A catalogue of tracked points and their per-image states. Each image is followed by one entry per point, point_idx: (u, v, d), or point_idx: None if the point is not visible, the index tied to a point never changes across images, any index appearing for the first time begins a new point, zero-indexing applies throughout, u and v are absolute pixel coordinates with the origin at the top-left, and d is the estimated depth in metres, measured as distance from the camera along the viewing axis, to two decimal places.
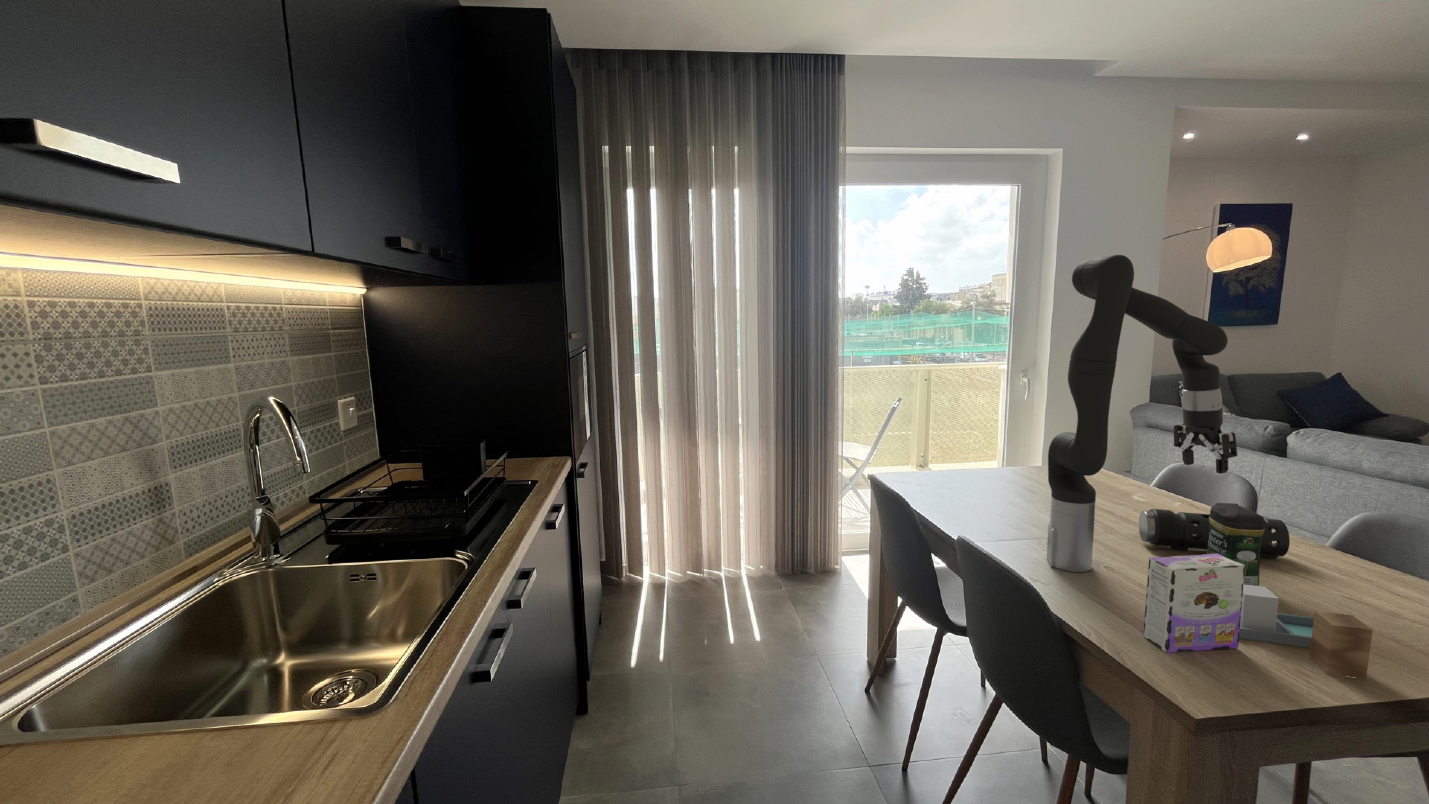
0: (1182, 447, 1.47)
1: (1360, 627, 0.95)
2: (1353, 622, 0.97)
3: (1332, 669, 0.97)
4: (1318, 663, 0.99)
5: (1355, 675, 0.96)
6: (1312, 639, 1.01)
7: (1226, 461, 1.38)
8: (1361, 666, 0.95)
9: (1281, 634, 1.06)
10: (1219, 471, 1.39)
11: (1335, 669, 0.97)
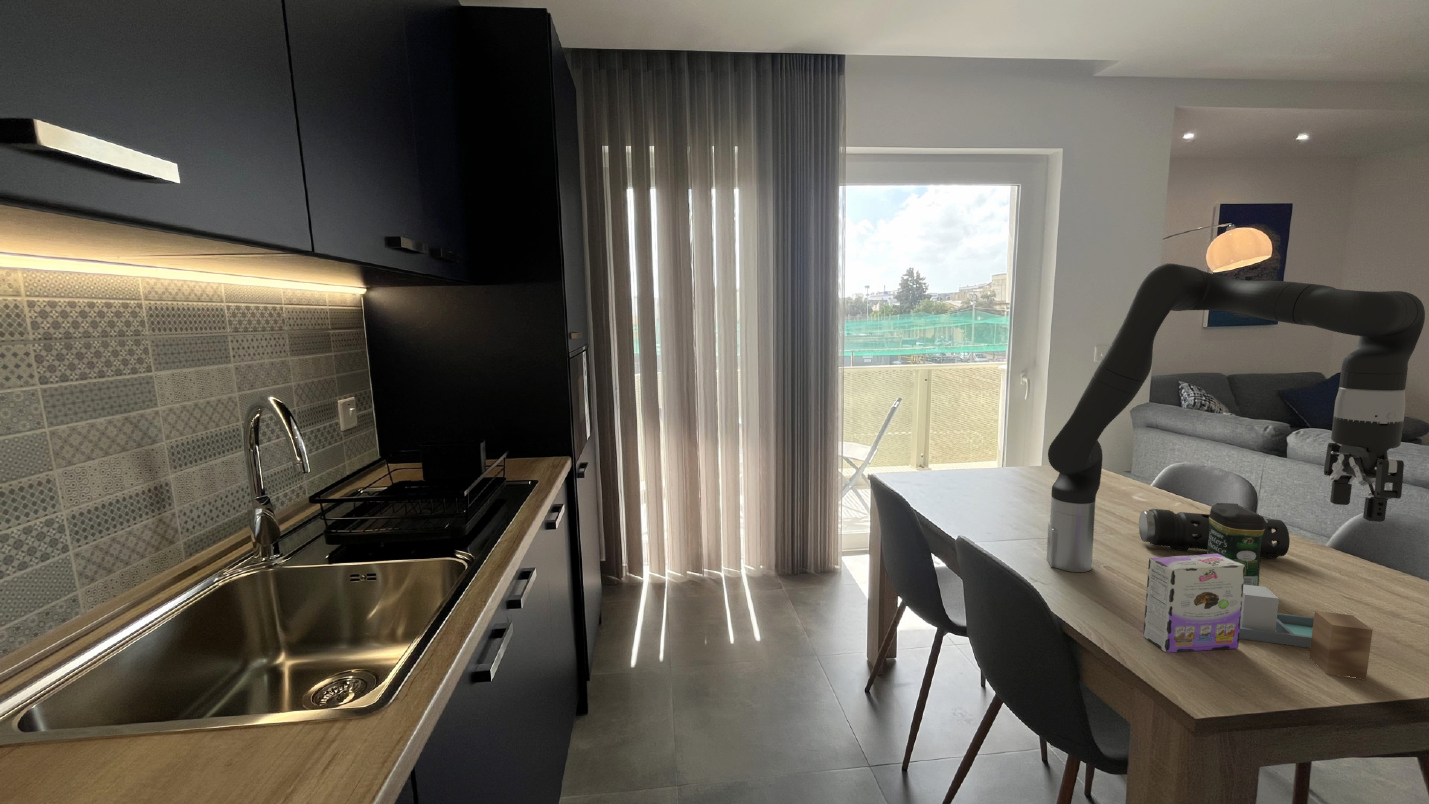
0: (1331, 476, 0.99)
1: (1360, 627, 0.95)
2: (1353, 622, 0.97)
3: (1332, 669, 0.97)
4: (1318, 663, 0.99)
5: (1355, 675, 0.96)
6: (1312, 639, 1.01)
7: (1383, 503, 0.89)
8: (1361, 666, 0.95)
9: (1281, 634, 1.06)
10: (1367, 516, 0.91)
11: (1335, 669, 0.97)
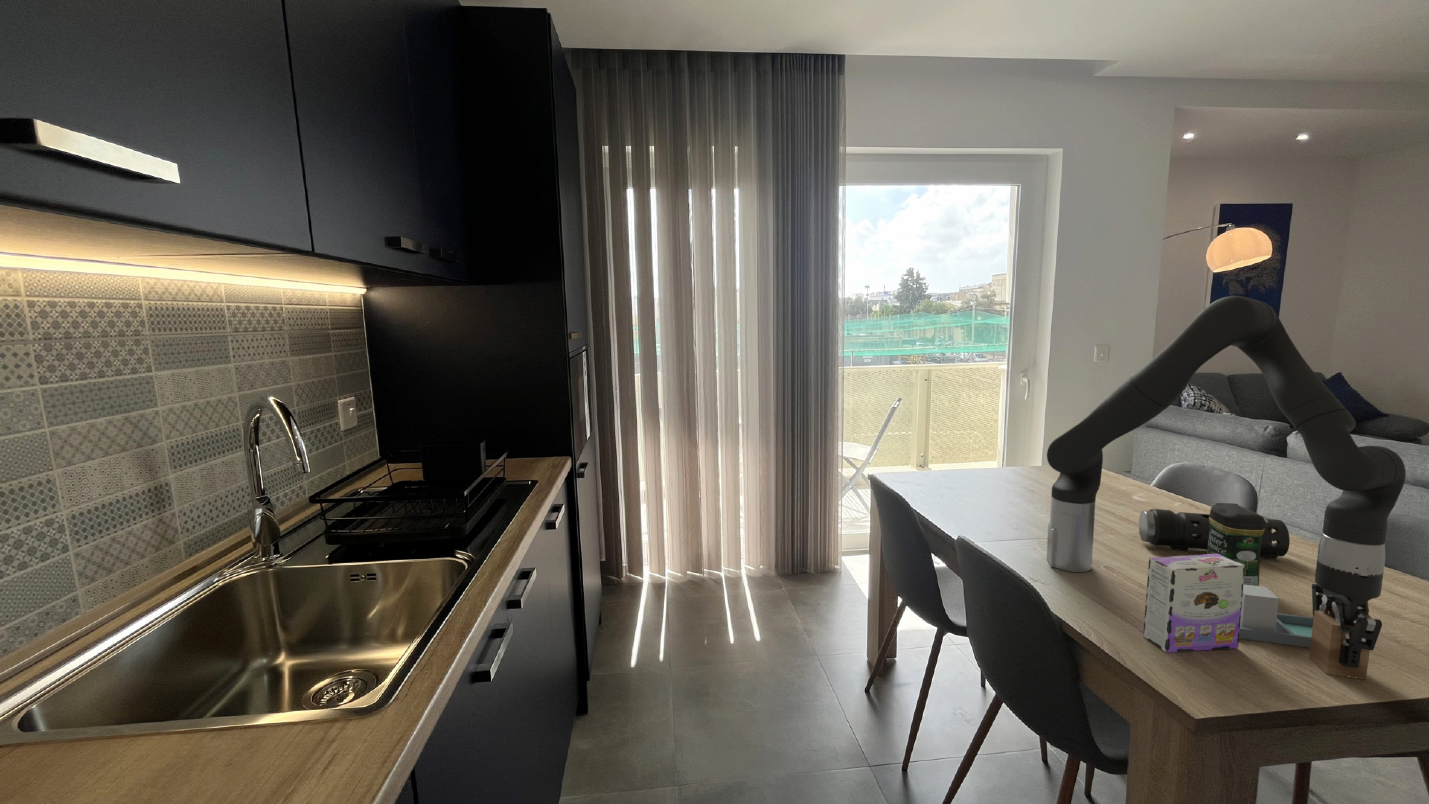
0: None
1: None
2: None
3: (1332, 669, 0.97)
4: (1318, 663, 0.99)
5: (1355, 675, 0.96)
6: (1312, 639, 1.01)
7: (1357, 652, 0.94)
8: (1361, 666, 0.95)
9: (1281, 634, 1.06)
10: (1342, 662, 0.96)
11: (1335, 669, 0.97)
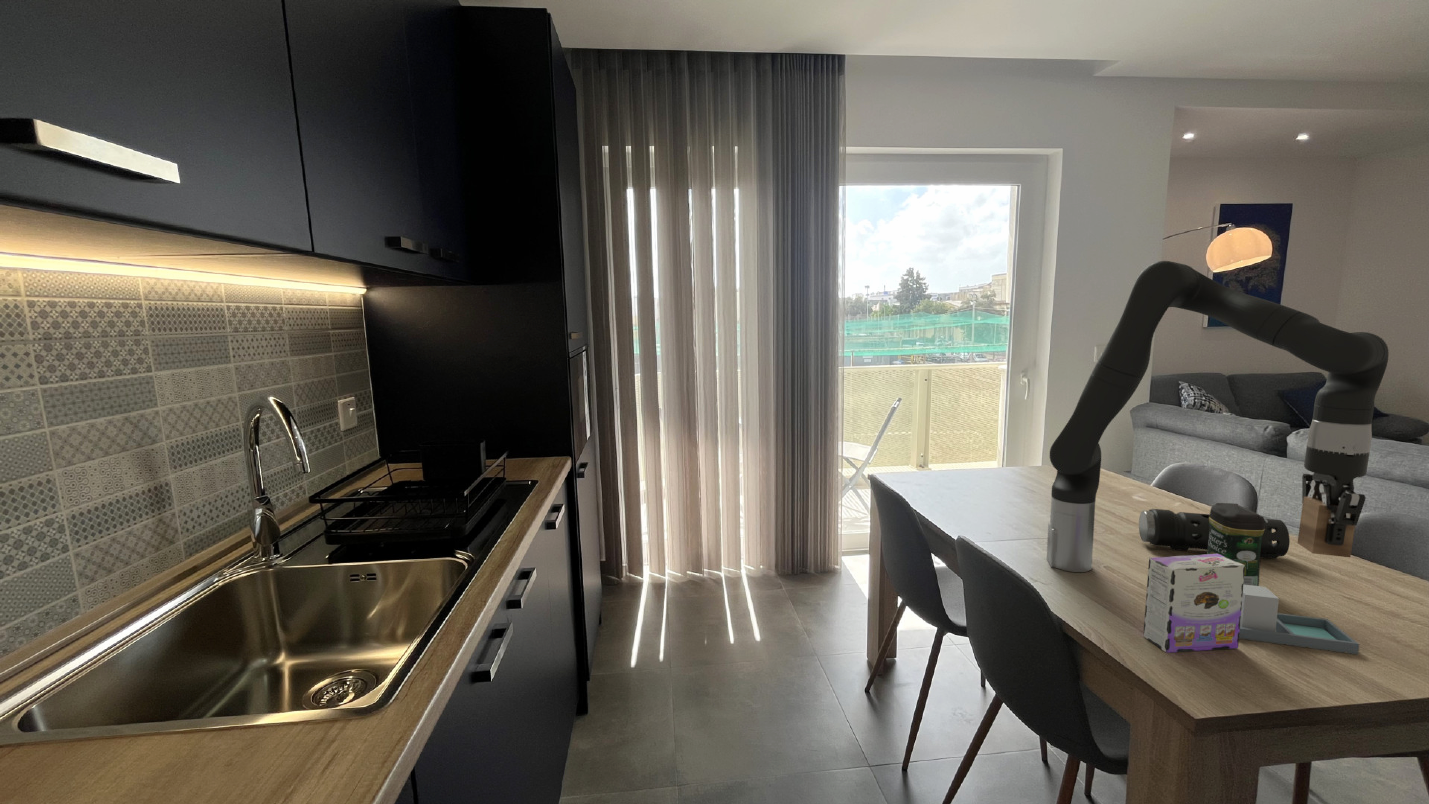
0: None
1: None
2: None
3: (1318, 548, 1.01)
4: (1305, 545, 1.04)
5: (1340, 553, 1.00)
6: (1300, 524, 1.06)
7: (1341, 529, 0.99)
8: (1346, 544, 1.00)
9: (1281, 634, 1.06)
10: (1328, 540, 1.00)
11: (1321, 548, 1.01)
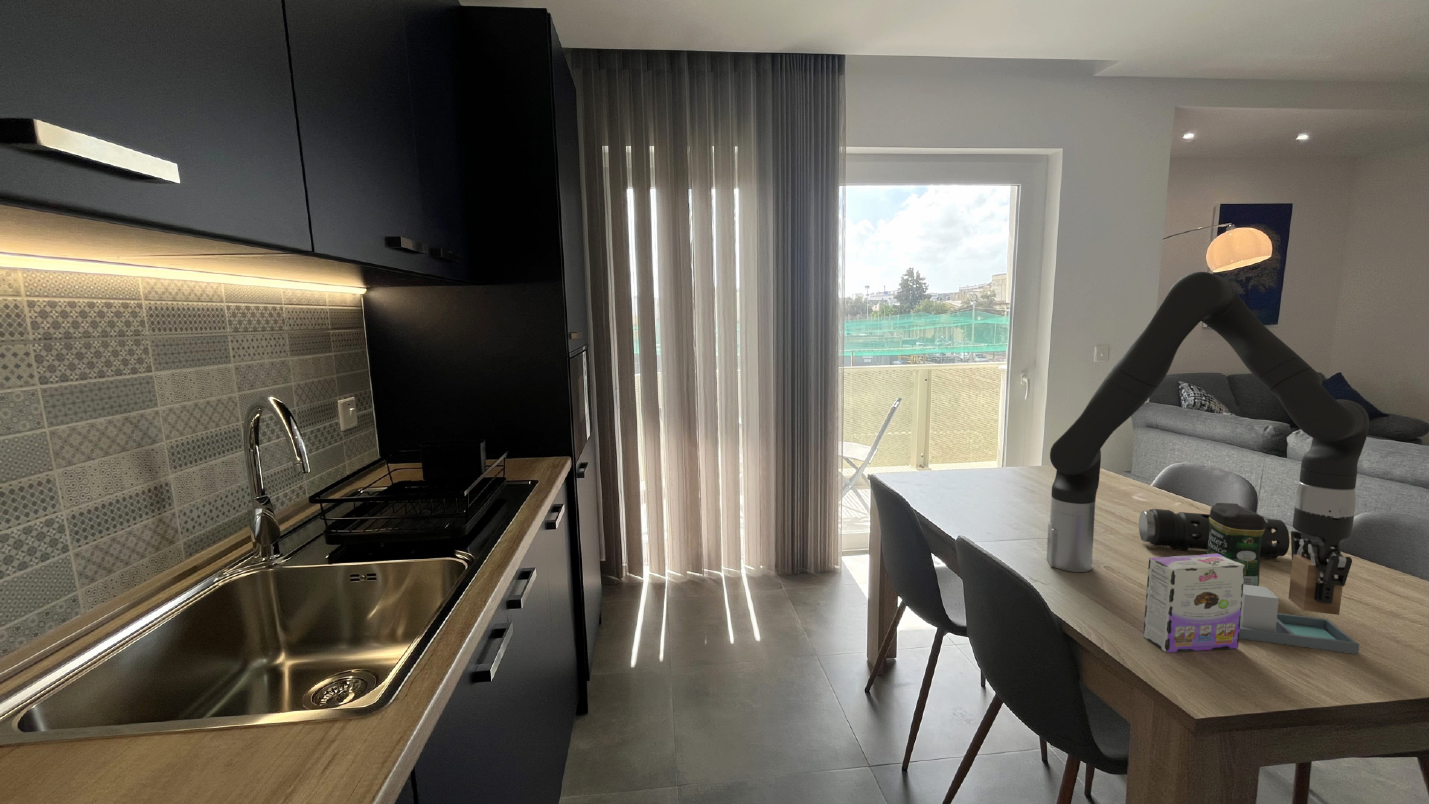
0: None
1: None
2: None
3: (1308, 606, 1.06)
4: (1296, 601, 1.08)
5: (1329, 610, 1.05)
6: (1291, 580, 1.10)
7: (1330, 589, 1.03)
8: (1335, 602, 1.04)
9: (1281, 634, 1.06)
10: (1317, 599, 1.05)
11: (1311, 605, 1.06)
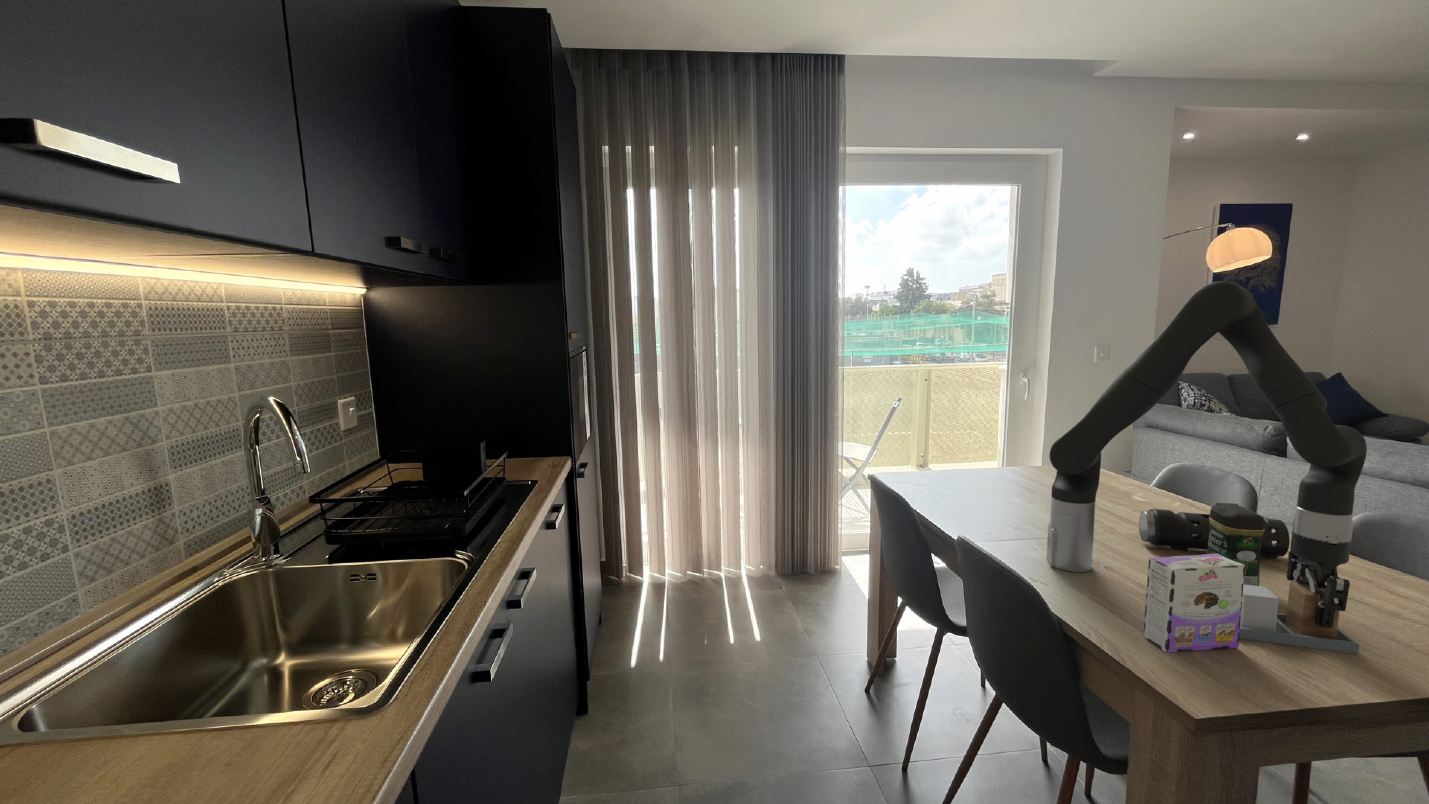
0: (1293, 582, 1.11)
1: None
2: None
3: (1305, 635, 1.06)
4: (1293, 630, 1.09)
5: None
6: (1288, 609, 1.11)
7: (1331, 613, 1.03)
8: (1331, 631, 1.05)
9: (1281, 634, 1.06)
10: (1318, 623, 1.04)
11: (1308, 634, 1.06)
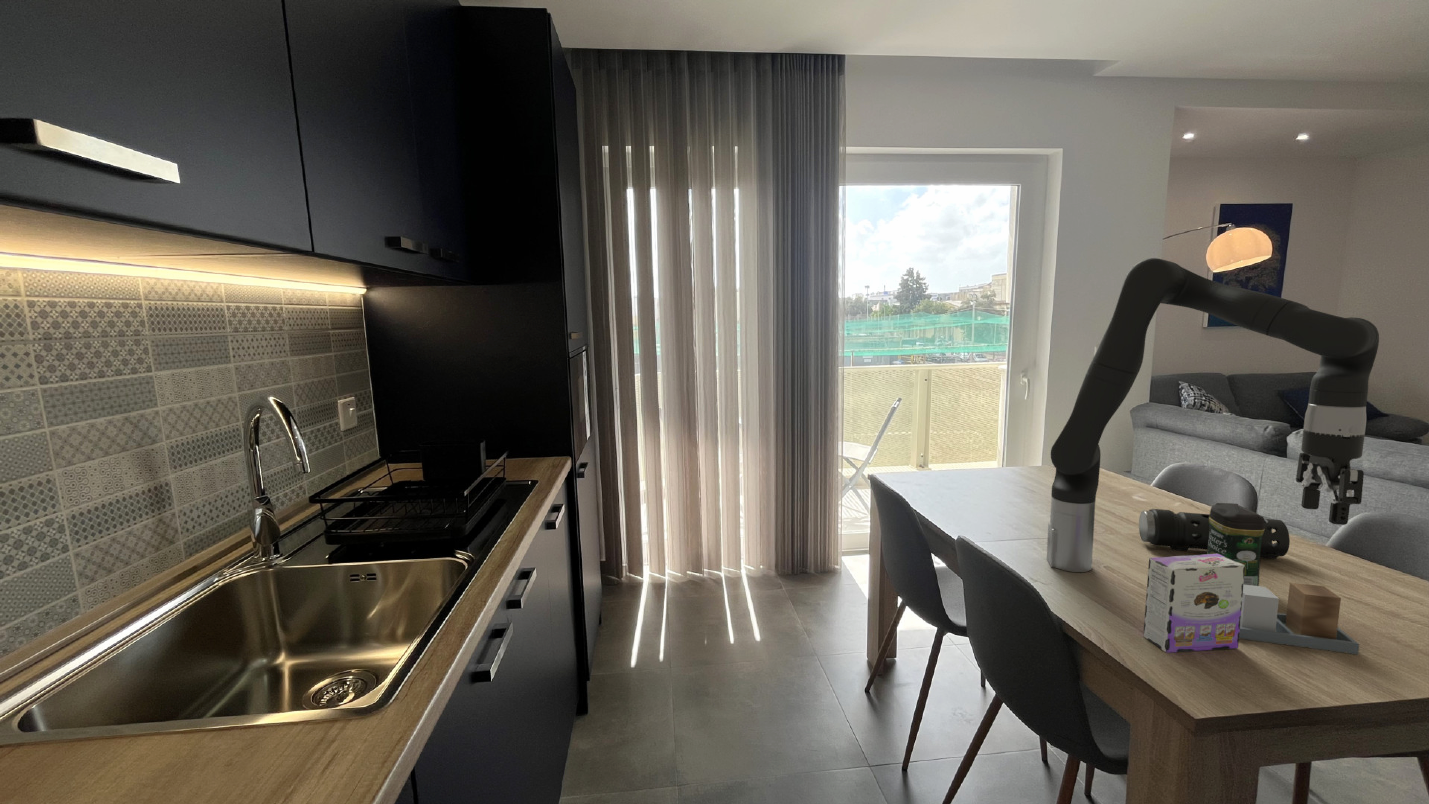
0: (1302, 483, 1.09)
1: (1330, 596, 1.05)
2: (1324, 592, 1.06)
3: (1305, 635, 1.06)
4: (1293, 630, 1.09)
5: None
6: (1288, 609, 1.11)
7: (1346, 508, 1.00)
8: (1331, 631, 1.05)
9: (1281, 634, 1.06)
10: (1332, 520, 1.01)
11: (1308, 634, 1.06)
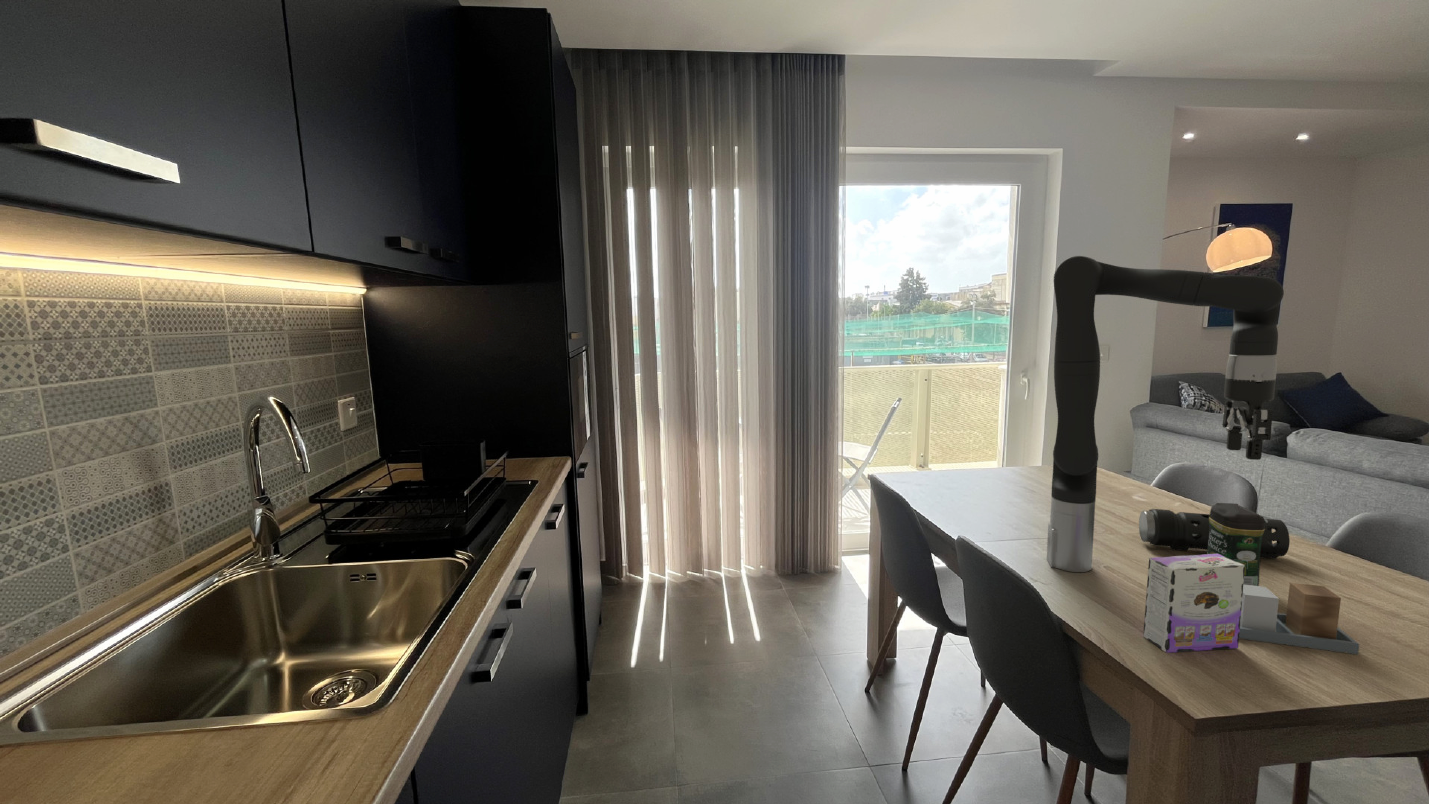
0: (1227, 427, 1.23)
1: (1330, 596, 1.05)
2: (1324, 592, 1.06)
3: (1305, 635, 1.06)
4: (1293, 630, 1.09)
5: None
6: (1288, 609, 1.11)
7: (1259, 445, 1.13)
8: (1331, 631, 1.05)
9: (1281, 634, 1.06)
10: (1248, 456, 1.15)
11: (1308, 634, 1.06)
